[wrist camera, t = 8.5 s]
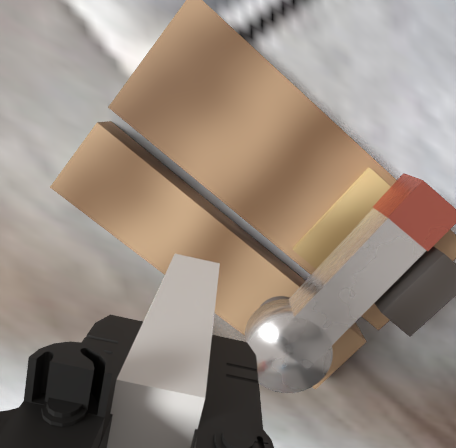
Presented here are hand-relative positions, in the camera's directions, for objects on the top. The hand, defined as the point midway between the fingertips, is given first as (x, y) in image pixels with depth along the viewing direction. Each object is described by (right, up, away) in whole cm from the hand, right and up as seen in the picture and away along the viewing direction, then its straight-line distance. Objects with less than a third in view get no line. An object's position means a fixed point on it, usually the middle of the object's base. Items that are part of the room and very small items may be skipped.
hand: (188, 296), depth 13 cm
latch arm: (+7, -1, +8) cm, 11 cm away
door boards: (+3, +3, +12) cm, 12 cm away
